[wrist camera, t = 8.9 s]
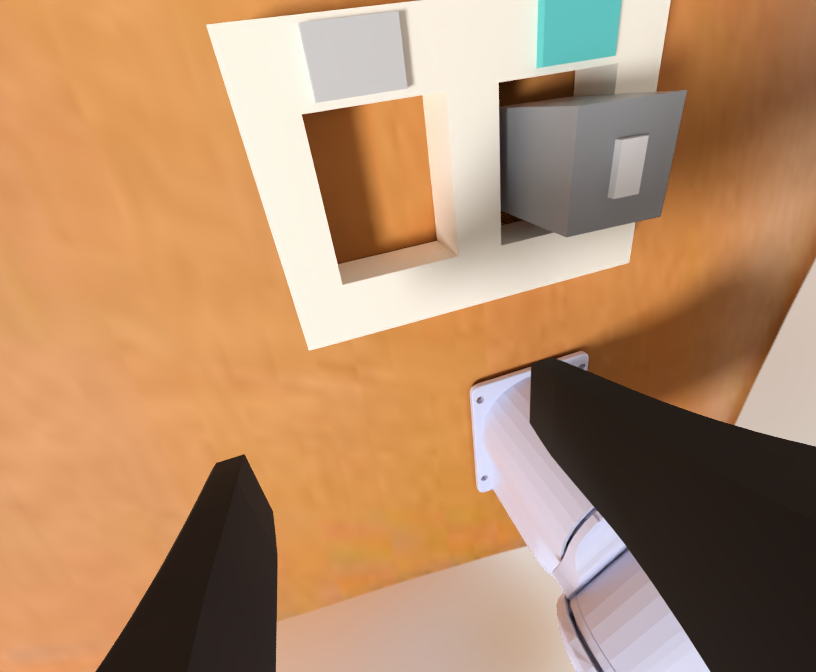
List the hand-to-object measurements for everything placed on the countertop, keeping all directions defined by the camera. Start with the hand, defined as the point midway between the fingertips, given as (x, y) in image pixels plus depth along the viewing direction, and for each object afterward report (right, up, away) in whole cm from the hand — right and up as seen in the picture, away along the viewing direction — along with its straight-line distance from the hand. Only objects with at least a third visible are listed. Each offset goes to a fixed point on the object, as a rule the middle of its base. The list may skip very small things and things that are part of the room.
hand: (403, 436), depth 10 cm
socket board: (+2, +10, +8) cm, 13 cm away
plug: (+5, +11, +8) cm, 15 cm away
